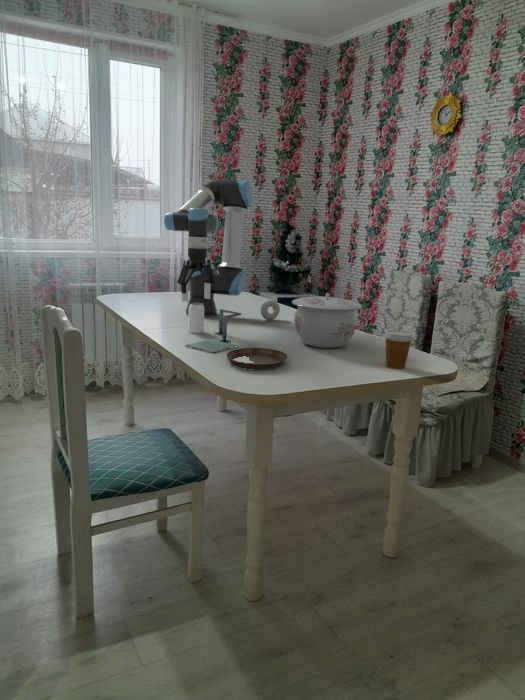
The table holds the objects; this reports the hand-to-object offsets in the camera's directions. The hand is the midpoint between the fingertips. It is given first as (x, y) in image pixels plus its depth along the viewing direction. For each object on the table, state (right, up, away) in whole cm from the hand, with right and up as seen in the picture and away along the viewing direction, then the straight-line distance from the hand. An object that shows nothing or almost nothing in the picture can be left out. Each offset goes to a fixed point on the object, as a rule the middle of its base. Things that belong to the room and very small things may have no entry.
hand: (196, 300), depth 221 cm
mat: (+8, -19, -20) cm, 29 cm away
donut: (+31, -6, +37) cm, 49 cm away
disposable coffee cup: (+73, -26, -35) cm, 85 cm away
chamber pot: (+52, -19, -8) cm, 56 cm away
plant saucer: (+25, -26, -40) cm, 54 cm away
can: (-1, -13, +4) cm, 14 cm away
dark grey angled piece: (+12, -16, -5) cm, 20 cm away
